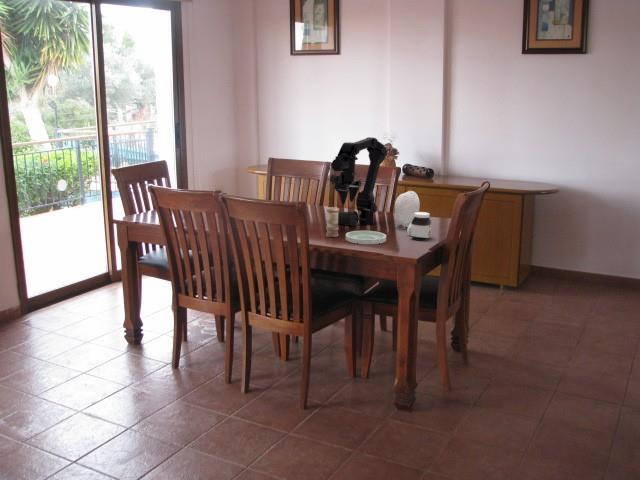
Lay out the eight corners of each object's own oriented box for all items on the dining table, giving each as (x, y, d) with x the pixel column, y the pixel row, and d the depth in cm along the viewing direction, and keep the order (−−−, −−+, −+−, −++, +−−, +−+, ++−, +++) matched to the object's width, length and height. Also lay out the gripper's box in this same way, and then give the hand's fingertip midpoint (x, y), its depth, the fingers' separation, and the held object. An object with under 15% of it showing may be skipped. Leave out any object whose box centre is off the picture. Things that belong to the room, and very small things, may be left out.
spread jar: (423, 242, 315) (425, 216, 312) (400, 238, 321) (402, 213, 318) (434, 236, 325) (436, 212, 322) (412, 233, 331) (413, 209, 328)
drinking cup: (336, 216, 355) (371, 218, 344) (330, 228, 351) (366, 230, 341) (330, 206, 350) (366, 208, 339) (325, 218, 346) (360, 220, 335)
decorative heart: (410, 231, 334) (412, 196, 330) (389, 229, 339) (390, 193, 335) (422, 224, 350) (424, 190, 346) (402, 222, 354) (403, 188, 350)
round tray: (384, 235, 326) (384, 231, 326) (387, 244, 308) (387, 240, 308) (345, 234, 326) (345, 230, 326) (346, 243, 309) (346, 239, 308)
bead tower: (338, 234, 325) (339, 207, 322) (338, 237, 320) (339, 209, 316) (326, 234, 325) (326, 206, 322) (326, 237, 320) (326, 209, 317)
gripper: (341, 166, 342) (340, 198, 345) (324, 170, 326) (323, 203, 329) (362, 168, 337) (361, 201, 340) (346, 172, 321) (344, 206, 324)
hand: (347, 203), depth 334 cm, fingers open, 9 cm apart
